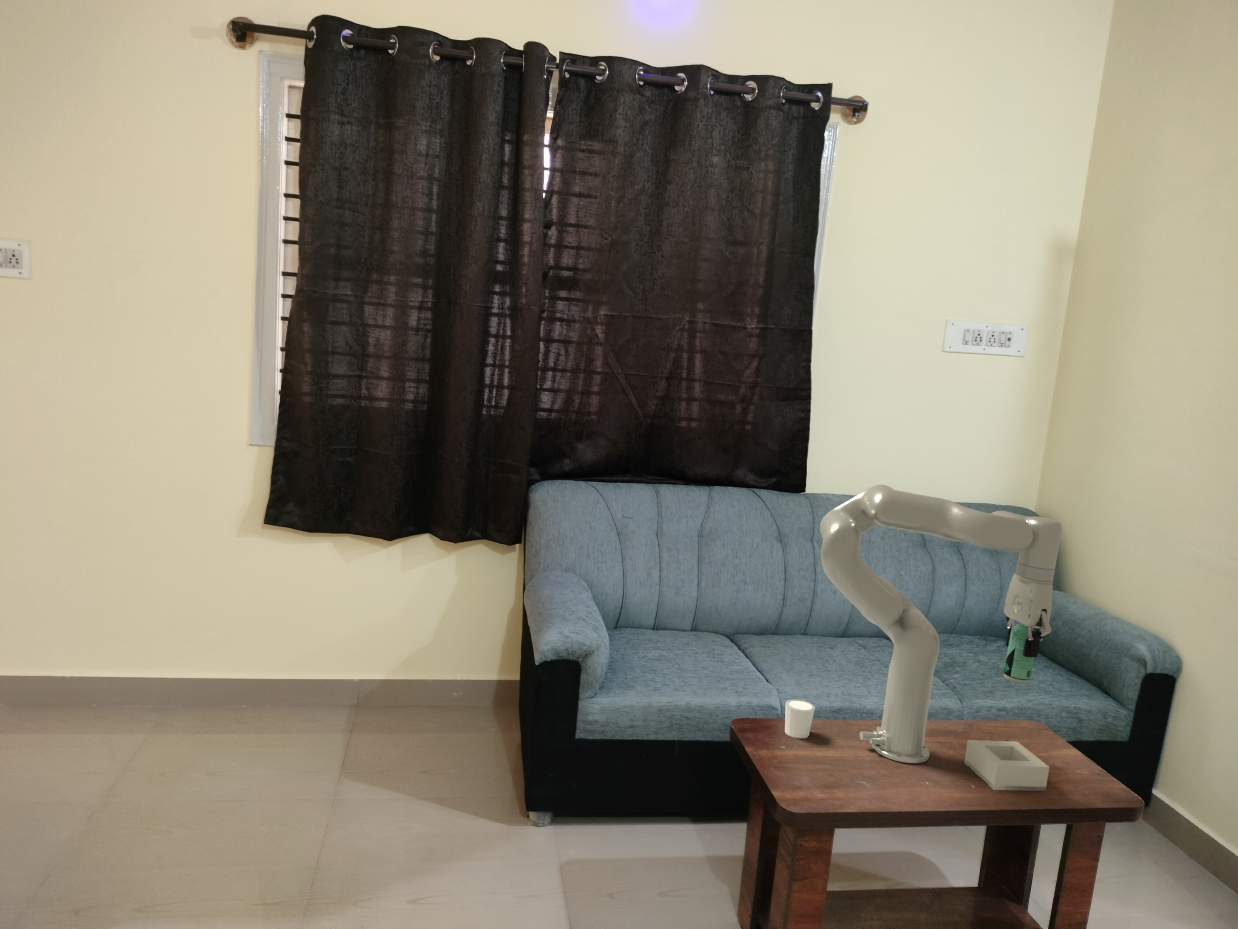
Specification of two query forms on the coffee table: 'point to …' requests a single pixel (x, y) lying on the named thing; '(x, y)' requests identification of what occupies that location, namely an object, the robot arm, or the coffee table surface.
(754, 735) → the coffee table surface
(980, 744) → the can holder
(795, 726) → the white cup
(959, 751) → the coffee table surface
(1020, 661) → the spray can
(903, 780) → the coffee table surface
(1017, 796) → the coffee table surface
